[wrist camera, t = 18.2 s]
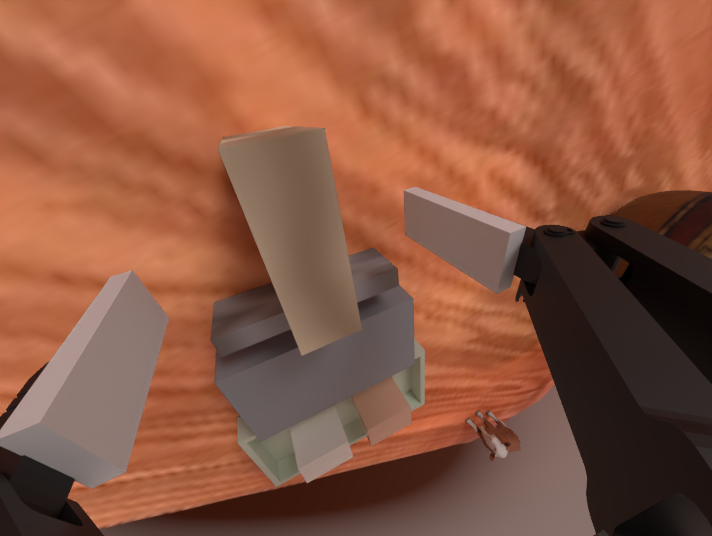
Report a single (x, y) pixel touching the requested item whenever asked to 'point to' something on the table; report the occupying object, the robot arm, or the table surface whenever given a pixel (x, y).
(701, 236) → the ceramic pitcher
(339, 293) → the beige slab
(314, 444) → the light grey block
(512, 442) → the bull figurine
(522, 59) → the table surface
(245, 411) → the slate board
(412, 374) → the tray
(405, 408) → the reddish brown block
